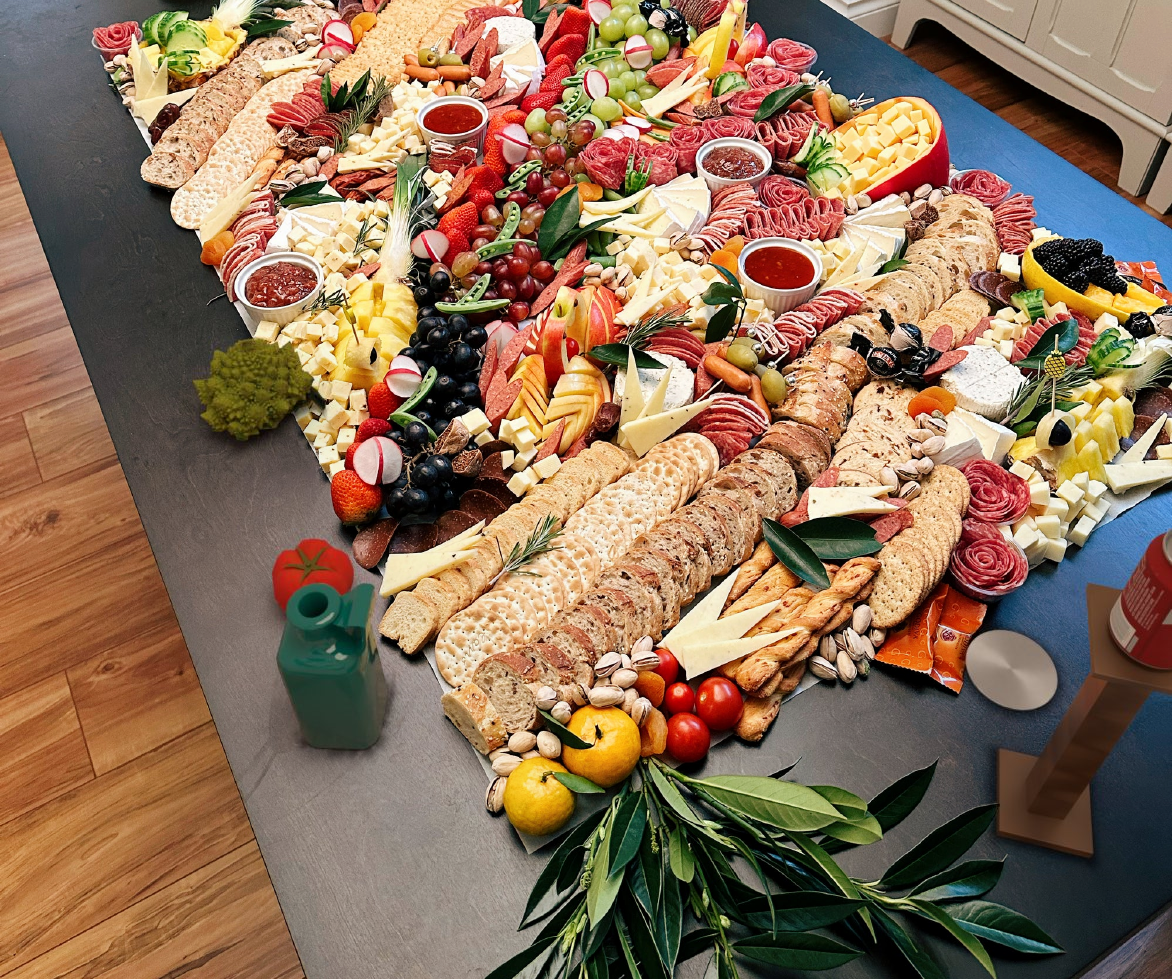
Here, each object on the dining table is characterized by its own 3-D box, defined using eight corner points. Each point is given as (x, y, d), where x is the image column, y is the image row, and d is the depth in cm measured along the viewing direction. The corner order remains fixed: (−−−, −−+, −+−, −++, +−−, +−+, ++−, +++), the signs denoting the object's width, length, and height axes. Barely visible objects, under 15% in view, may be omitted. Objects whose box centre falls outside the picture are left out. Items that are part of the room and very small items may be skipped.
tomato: (283, 637, 130) (270, 602, 125) (276, 576, 136) (263, 539, 131) (363, 617, 132) (354, 581, 127) (353, 557, 138) (343, 520, 133)
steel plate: (1055, 642, 129) (1056, 640, 129) (1058, 721, 122) (1059, 719, 122) (965, 623, 131) (966, 621, 131) (964, 699, 124) (964, 697, 124)
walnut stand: (1084, 774, 118) (1198, 605, 96) (1089, 858, 112) (1212, 698, 89) (996, 753, 120) (1088, 582, 97) (996, 835, 113) (1094, 672, 91)
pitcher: (300, 749, 120) (257, 639, 105) (317, 677, 126) (279, 564, 111) (390, 752, 120) (361, 643, 105) (403, 681, 126) (377, 567, 111)
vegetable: (353, 379, 155) (276, 334, 143) (291, 476, 153) (208, 439, 142) (296, 342, 164) (220, 298, 153) (237, 433, 162) (155, 395, 151)
